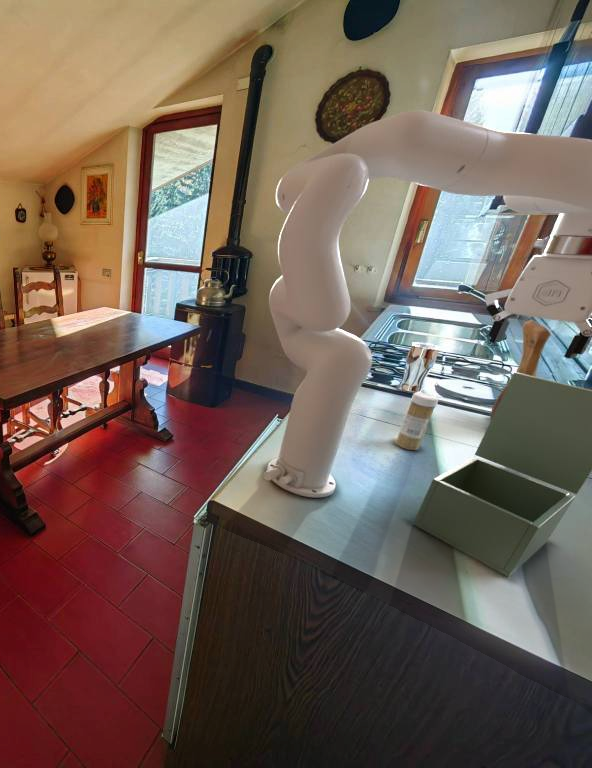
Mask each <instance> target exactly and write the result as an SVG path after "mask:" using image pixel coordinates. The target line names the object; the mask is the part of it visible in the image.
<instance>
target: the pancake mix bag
mask: <svg viewBox="0 0 592 768" xmlns="http://www.w3.org/2000/svg"><path fill="white" fill-rule="evenodd" d="M551 336H552V334H551V332H550V331H549V329H548V328H546V327H545V326H544V325H542V324H540V323H537V322H535V321H534V320H533V319H532V318H531V319H529V320H527V321H525V322H524V323H523V326H522V339H523V340H522V356H521V359H520V363H519V366H518V367H517V369H516V371H515V372H518V373H522V374H526V375H530V376H535V377H537V371H538V367H539V362H540V359H541V356H542V353H543V351H544V348H545V346H546V344H547V342H548V340H549V339H550V338H551ZM510 380H511V378H510V379H509V380H508V382H507V383H506V384H505V386H504V387H503V389H502V390H501V392H499V395H498V396H497V398H496V400H495V402H494V403H493V406H492V408H491V411H490V418H489V423H490V422H491V420H492V418H493V416H494V413H495V411H496V409H497V407H498V405H499V403H500V401H501V399H502V397H503V395H504V393H505V391H506V389H507V386H508V384H509V382H510Z"/></svg>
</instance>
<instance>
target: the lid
mask: <svg viewBox="0 0 592 768" xmlns="http://www.w3.org/2000/svg"><path fill="white" fill-rule="evenodd" d="M510 379H511V380H510ZM510 379H509V380H510V382H509V381H508V382H509V384H508V386H507V389H506V391H505V393H504V395H503V397H502V399H501V401H500V403H499V405H498V407H497V409H496V411H495V413H494V416H493V418H492V420H491V422H490V421H489V424H488V425H487V428H486V430H485V432H484V434H483V437H482V438H481V441H480V443H479V444H478V447H477V448H476V451H475V452H474V456H475V457H478V458H480V459H483V460H486V461H488V462H491V463H493V464H494V463H495V464H496V465H499V466H501V467H504V468H506V469H509V470H511V471H512V470H513V471H514V472H517V473H519V474H522V475H524V476H527V477H529V478H532V479H536V480H537V481H541V482H542V483H545V484H547V485H550V486H551V485H552V486H553V487H555V488H558V489H560V490H564V491H565V492H566V491H567V492H569V493H571V494H574V495H578V494H579V492H580V491H581V489H582V488H583V486H584V484H585V483H586V481H587V480H588V478H589V476H590V475H591V473H592V389H589V388H586V387H581V386H576V385H573V384H569V383H568V384H567V383H563V382H559V381H556V380H551V379H548V378H543V377H539V376H536V377H535V376H530V375H526V374H522V373H518V372H516V371H515V372H513V373H512V376H511V377H510Z"/></svg>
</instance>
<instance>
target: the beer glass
mask: <svg viewBox="0 0 592 768" xmlns="http://www.w3.org/2000/svg"><path fill="white" fill-rule="evenodd" d="M439 351H440V347H439V346H438V345H434V344H431V343H425V342H424V343H423V342H412V343H411V346H410V348H409V350H408V353H407V355H406V359H405V362H404V369H403V376H402V378H401V381H400V382H399V384H398V385H397V389H398V390H400V391H402V392H405V393H409V394H414V393H416V392H423V386H424V385H423V384H424V381H425V380H426V378H427V377H428V375H429V374H430V372H431V370H432V369H433V368H434V365H435V363H436V360H437V358H438V354H439Z"/></svg>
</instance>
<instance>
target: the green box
mask: <svg viewBox="0 0 592 768" xmlns="http://www.w3.org/2000/svg"><path fill="white" fill-rule="evenodd" d="M575 498H576V495H575V494H574V495H573V494H572V493H568V492H566V491H565V490H564V491H563V490H562V489H560V488H557V487H555V486H551V485H549V484H547V483H544V482H542V481H541V482H540V481H539V480H537V479H536V480H535V479H534V478H532V477H529V476H526V475H524V474H521V473H519V472H516V471H514V470H513V471H512V470H511V469H509V468H506V467H503V466H501V465H498V464H496V463H495V464H494V463H493V462H491V461H488V460H486V459H483V458H480V457H478V456H473V457H471V458H469V459H467V460H465V461H464V462H462V463H460V464H458V465H457V466H455V467H452V468H451V469H449V470H447V471H445V472H443V473H442V474H440V475H438V476H436V477H435V478H433V479H432V480H431V482H430V485H429V487H428V490H427V491H426V494H425V495H424V498H423V501H422V503H421V505H420V506H419V509H418V512H417V513H416V516H415V518H414V521H413V522H412V525H414V526H416V527H417V528H419V529H421V530H423V531H424V532H426V533H428V534H430V535H431V536H433V537H435V538H437V539H438V540H439V541H440V540H441V541H442V542H444V543H446V544H448V545H450V546H451V547H453V548H455V549H457V550H458V551H460V552H462V553H464V554H466V555H467V556H469V557H471V558H473V559H475V560H476V561H478V562H479V563H481V564H483V565H485V566H487V567H489V568H490V569H492V570H494V571H496V572H498V573H500V574H502V575H503V576H505V577H507V578H510V577H511V576H512V575H513V574H514V573H515V572H516V571H518V569H519V568H521V566H523V565H524V564H525V563H526V562H527V561H528V560H529V559H530V558H531V557H532V556H533V555H534V554H536V553H537V552H538V551H539V550H540V549H541V548H542V547H543V546H544V545H545V544H547V543H548V540H549V539H550V537H551V536H552V534H553V533H554V531H555V529H556V528H557V526H558V524H559V523H560V521H561V520H562V518H563V517H564V515H565V514H566V512H567V510H569V508H570V506H571V504H572V503H573V501H574V500H575Z"/></svg>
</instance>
